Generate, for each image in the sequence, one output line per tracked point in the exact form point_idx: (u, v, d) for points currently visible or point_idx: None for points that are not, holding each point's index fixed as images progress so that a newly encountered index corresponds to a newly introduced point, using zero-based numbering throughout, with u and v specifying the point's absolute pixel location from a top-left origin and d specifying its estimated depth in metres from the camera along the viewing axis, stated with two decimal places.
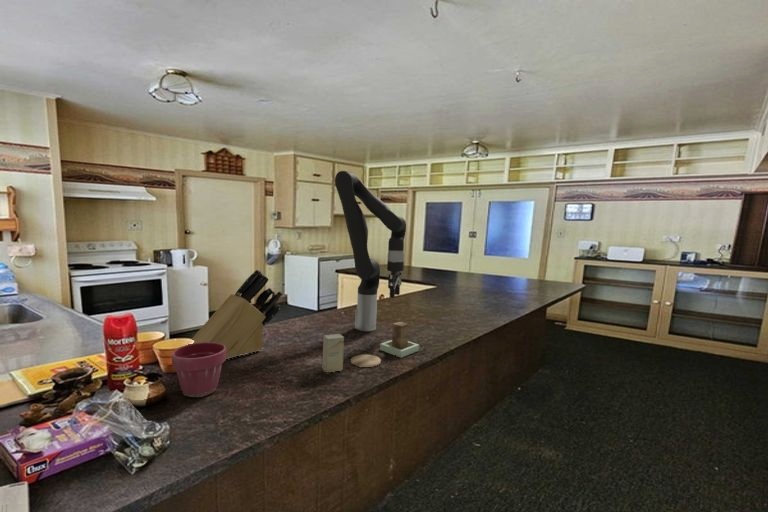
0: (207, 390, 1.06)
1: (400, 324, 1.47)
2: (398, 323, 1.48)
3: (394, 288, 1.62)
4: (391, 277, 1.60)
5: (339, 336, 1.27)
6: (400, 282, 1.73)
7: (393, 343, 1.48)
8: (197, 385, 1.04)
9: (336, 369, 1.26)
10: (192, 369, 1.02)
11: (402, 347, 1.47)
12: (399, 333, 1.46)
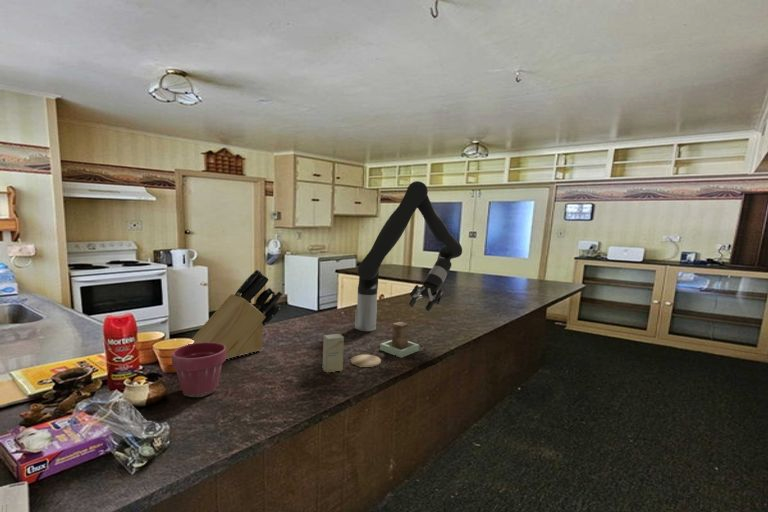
0: (207, 390, 1.06)
1: (400, 324, 1.47)
2: (398, 323, 1.48)
3: (434, 303, 1.55)
4: (441, 293, 1.55)
5: (339, 336, 1.27)
6: None
7: (393, 343, 1.48)
8: (197, 385, 1.04)
9: (336, 369, 1.26)
10: (192, 369, 1.02)
11: (402, 347, 1.47)
12: (399, 333, 1.46)
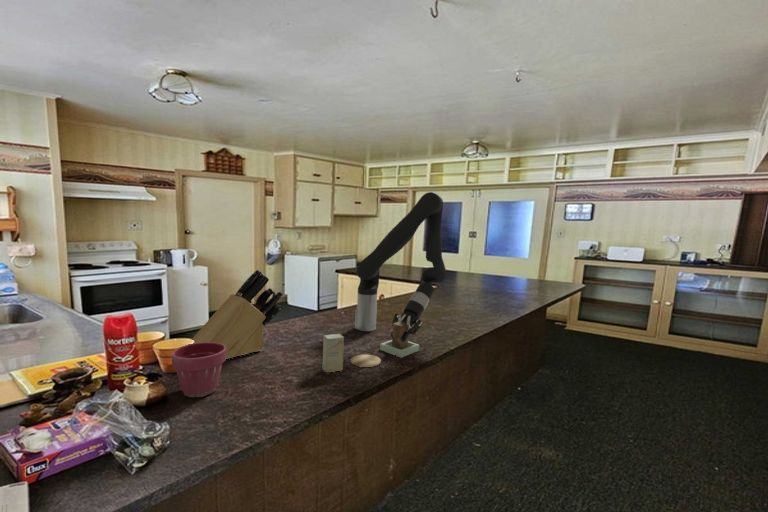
0: (207, 390, 1.06)
1: (400, 324, 1.47)
2: (398, 323, 1.48)
3: (409, 334, 1.47)
4: (420, 324, 1.47)
5: (339, 336, 1.27)
6: None
7: (393, 343, 1.48)
8: (197, 385, 1.04)
9: (336, 369, 1.26)
10: (192, 369, 1.02)
11: (402, 347, 1.47)
12: (399, 333, 1.46)
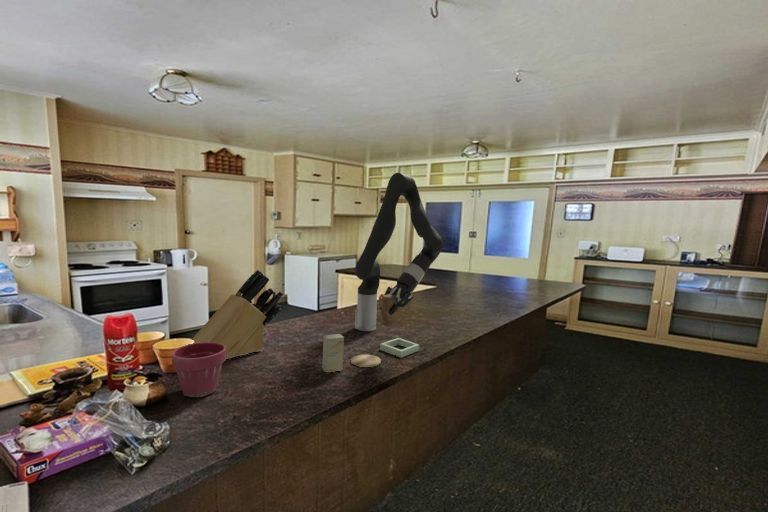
0: (207, 390, 1.06)
1: (389, 296, 1.39)
2: (388, 295, 1.40)
3: None
4: (410, 297, 1.37)
5: (339, 336, 1.27)
6: None
7: (382, 316, 1.40)
8: (197, 385, 1.04)
9: (336, 369, 1.26)
10: (192, 369, 1.02)
11: (391, 320, 1.38)
12: (387, 305, 1.37)
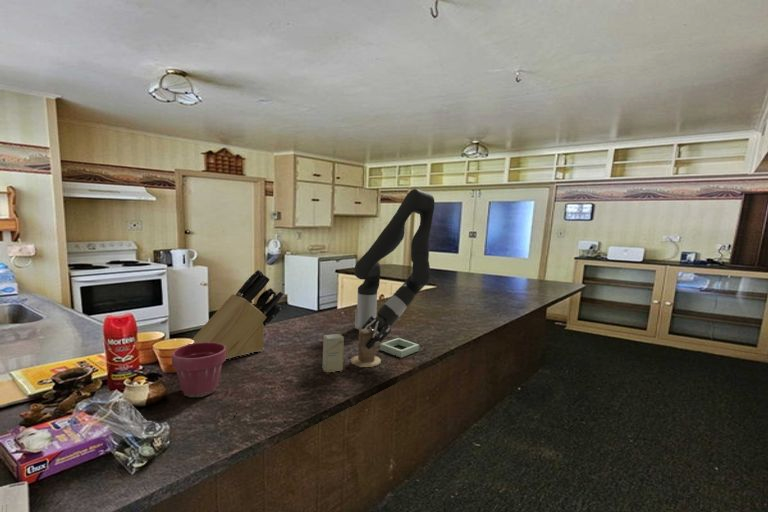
0: (207, 390, 1.06)
1: (366, 331, 1.35)
2: (365, 330, 1.36)
3: (377, 341, 1.32)
4: (387, 330, 1.31)
5: (339, 336, 1.27)
6: None
7: (359, 351, 1.36)
8: (197, 385, 1.04)
9: (336, 369, 1.26)
10: (192, 369, 1.02)
11: (366, 357, 1.33)
12: (362, 341, 1.33)
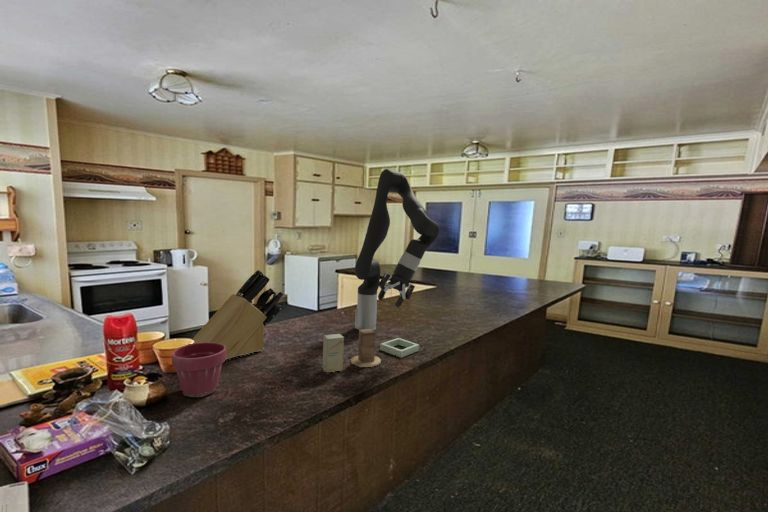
0: (207, 390, 1.06)
1: (366, 331, 1.35)
2: (365, 330, 1.36)
3: (384, 290, 1.39)
4: (385, 275, 1.39)
5: (339, 336, 1.27)
6: (407, 296, 1.44)
7: (359, 351, 1.36)
8: (197, 385, 1.04)
9: (336, 369, 1.26)
10: (192, 369, 1.02)
11: (366, 357, 1.33)
12: (362, 341, 1.33)
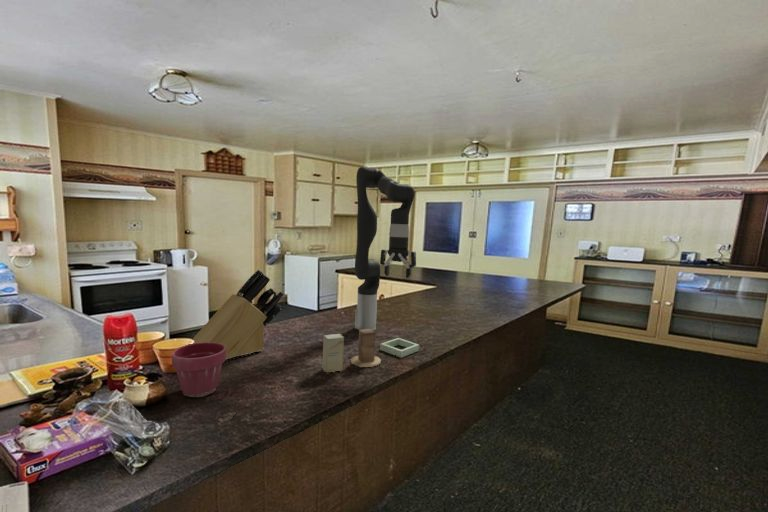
0: (207, 390, 1.06)
1: (366, 331, 1.35)
2: (365, 330, 1.36)
3: (384, 265, 1.46)
4: None
5: (339, 336, 1.27)
6: (411, 264, 1.42)
7: (359, 351, 1.36)
8: (197, 385, 1.04)
9: (336, 369, 1.26)
10: (192, 369, 1.02)
11: (366, 357, 1.33)
12: (362, 341, 1.33)
